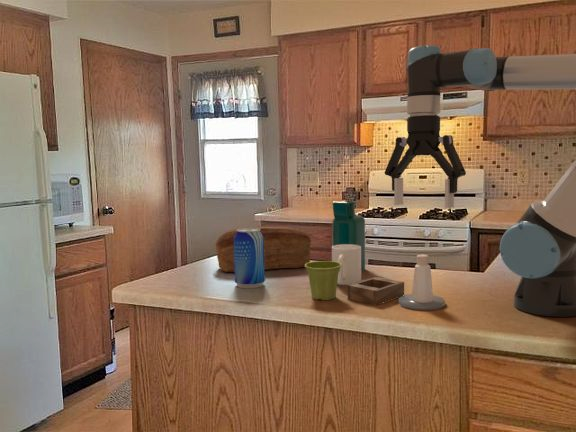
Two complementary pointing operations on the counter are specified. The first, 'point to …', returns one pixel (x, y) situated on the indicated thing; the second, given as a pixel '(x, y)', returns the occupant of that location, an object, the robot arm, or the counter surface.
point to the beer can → (249, 258)
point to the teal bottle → (348, 227)
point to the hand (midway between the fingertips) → (423, 206)
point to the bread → (270, 248)
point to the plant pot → (323, 278)
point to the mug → (348, 263)
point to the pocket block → (375, 290)
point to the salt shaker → (422, 281)
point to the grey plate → (410, 304)
